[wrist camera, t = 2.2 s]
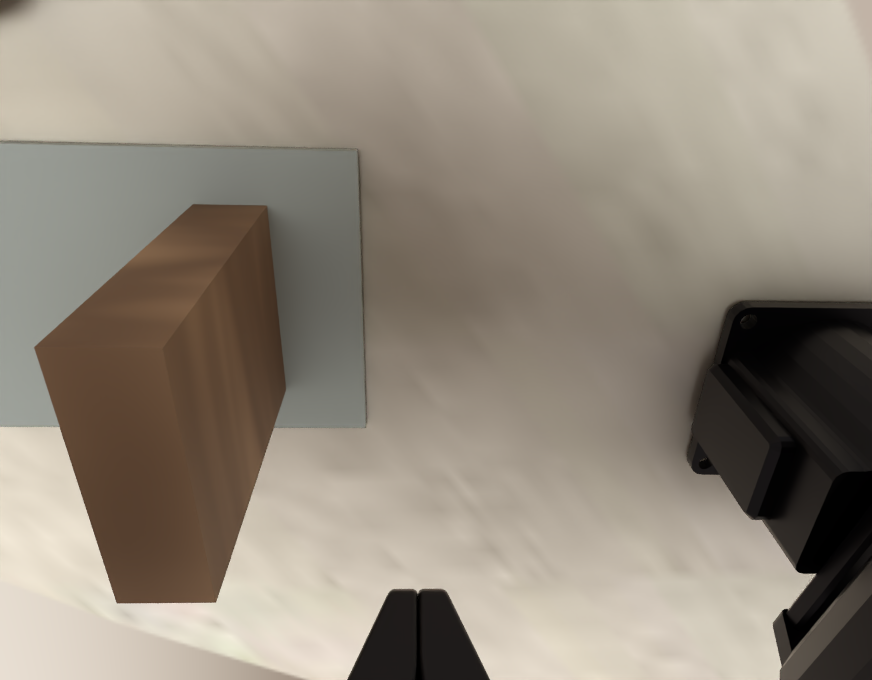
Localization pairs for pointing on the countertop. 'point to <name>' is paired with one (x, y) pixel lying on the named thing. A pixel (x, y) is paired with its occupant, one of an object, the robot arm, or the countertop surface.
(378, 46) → the countertop surface
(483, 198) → the countertop surface
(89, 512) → the walnut tile
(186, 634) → the countertop surface
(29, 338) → the rubber mat
